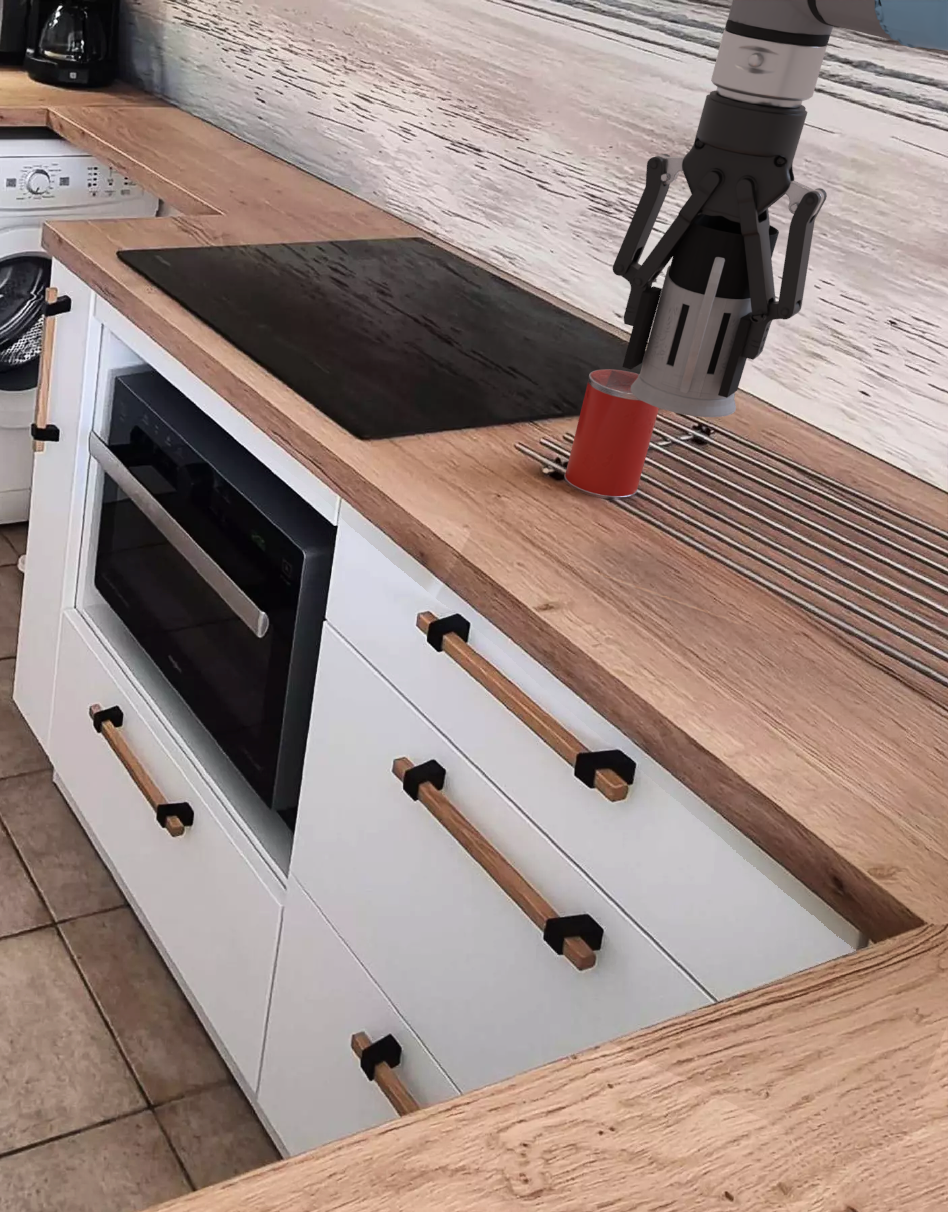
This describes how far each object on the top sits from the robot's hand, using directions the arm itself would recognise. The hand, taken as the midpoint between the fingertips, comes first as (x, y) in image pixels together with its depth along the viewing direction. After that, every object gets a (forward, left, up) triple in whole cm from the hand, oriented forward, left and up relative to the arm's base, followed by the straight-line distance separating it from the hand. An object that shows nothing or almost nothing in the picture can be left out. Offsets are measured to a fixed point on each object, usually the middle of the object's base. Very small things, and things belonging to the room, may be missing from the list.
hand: (679, 378), depth 132 cm
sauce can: (+9, -16, -18) cm, 26 cm away
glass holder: (-1, 0, -3) cm, 3 cm away
